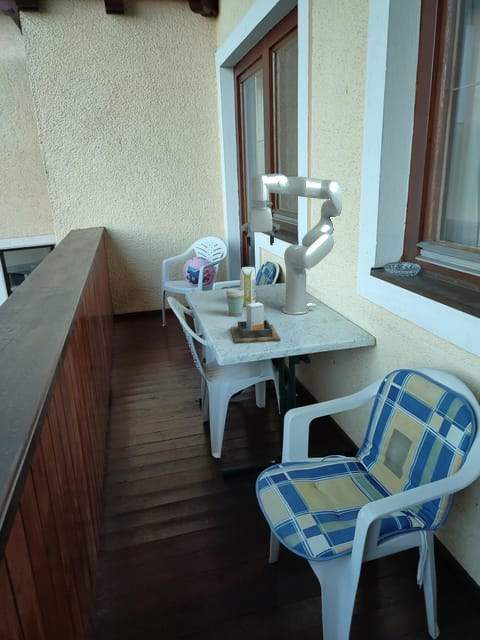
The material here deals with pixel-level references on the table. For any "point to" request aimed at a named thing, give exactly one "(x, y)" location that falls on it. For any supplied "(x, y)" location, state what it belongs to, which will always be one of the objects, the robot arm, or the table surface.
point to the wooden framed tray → (254, 333)
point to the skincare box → (255, 316)
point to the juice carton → (248, 284)
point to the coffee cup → (235, 301)
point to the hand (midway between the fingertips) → (260, 245)
